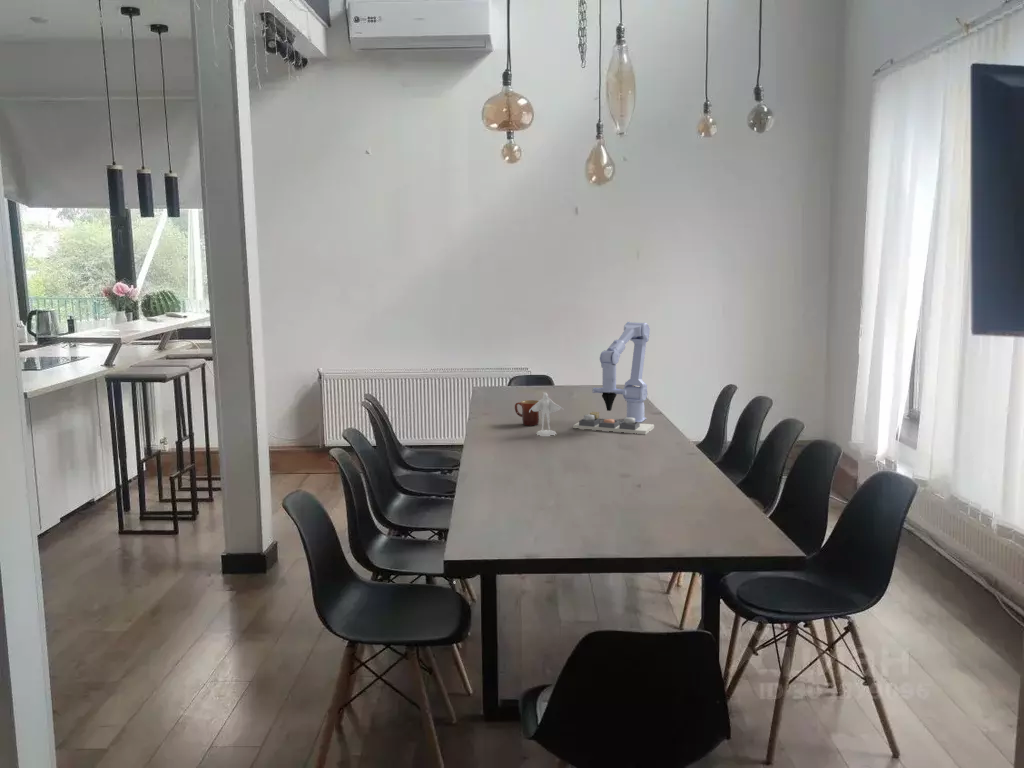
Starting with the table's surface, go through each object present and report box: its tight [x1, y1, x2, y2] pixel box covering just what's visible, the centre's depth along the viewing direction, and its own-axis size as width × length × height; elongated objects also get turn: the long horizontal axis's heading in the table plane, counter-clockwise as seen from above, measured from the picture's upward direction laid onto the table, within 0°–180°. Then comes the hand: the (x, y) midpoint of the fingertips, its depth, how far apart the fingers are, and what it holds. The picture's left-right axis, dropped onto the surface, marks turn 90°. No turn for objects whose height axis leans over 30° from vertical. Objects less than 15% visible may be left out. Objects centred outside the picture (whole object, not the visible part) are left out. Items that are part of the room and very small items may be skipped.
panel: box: [572, 417, 655, 435], centre depth 347 cm, size 14×32×4 cm, turn 65°
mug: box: [514, 399, 540, 427], centre depth 357 cm, size 12×9×10 cm
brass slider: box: [589, 411, 600, 419], centre depth 354 cm, size 4×3×4 cm
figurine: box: [529, 391, 565, 437], centre depth 338 cm, size 14×11×18 cm
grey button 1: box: [583, 413, 595, 422], centre depth 348 cm, size 5×5×2 cm
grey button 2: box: [623, 416, 635, 425], centre depth 340 cm, size 5×5×2 cm
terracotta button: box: [603, 418, 616, 423], centre depth 344 cm, size 5×5×2 cm
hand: (609, 410), depth 344 cm, fingers closed
